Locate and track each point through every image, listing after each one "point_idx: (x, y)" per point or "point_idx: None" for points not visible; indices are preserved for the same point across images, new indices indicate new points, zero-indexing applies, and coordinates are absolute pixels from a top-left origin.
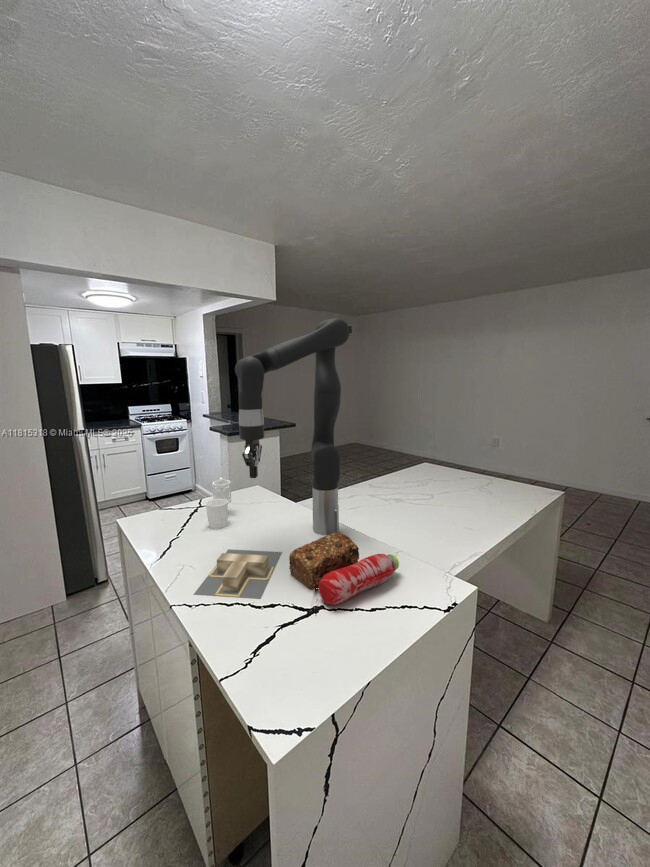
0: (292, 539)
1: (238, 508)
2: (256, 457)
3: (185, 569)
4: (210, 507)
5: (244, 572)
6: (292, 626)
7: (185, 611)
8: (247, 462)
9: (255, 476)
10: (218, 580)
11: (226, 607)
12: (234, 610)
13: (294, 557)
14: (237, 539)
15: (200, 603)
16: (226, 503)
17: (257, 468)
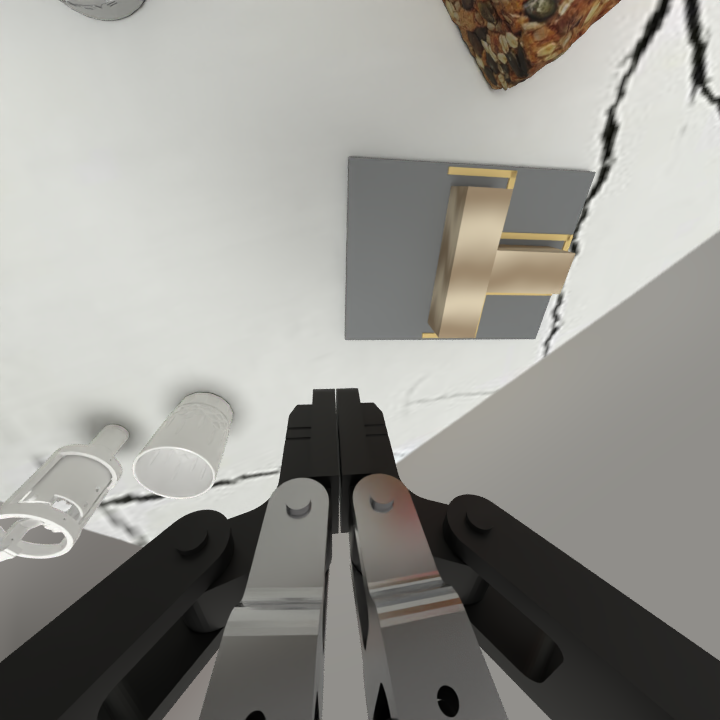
0: (221, 135)
1: (42, 411)
2: (477, 645)
3: (423, 394)
4: (216, 473)
5: (509, 247)
6: (713, 45)
7: (568, 331)
8: (498, 606)
9: (356, 400)
10: (493, 308)
11: (580, 255)
12: (596, 233)
13: (583, 32)
14: (267, 338)
15: (551, 315)
16: (170, 445)
17: (311, 446)
